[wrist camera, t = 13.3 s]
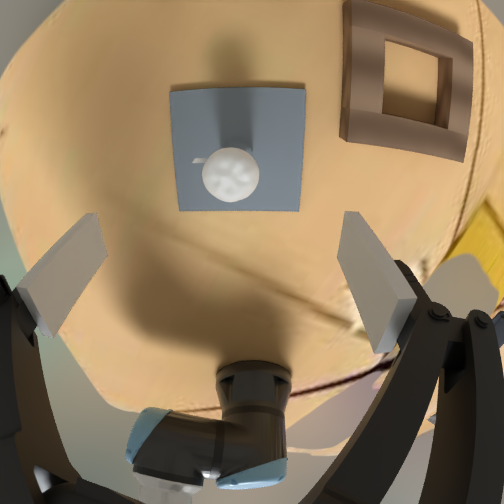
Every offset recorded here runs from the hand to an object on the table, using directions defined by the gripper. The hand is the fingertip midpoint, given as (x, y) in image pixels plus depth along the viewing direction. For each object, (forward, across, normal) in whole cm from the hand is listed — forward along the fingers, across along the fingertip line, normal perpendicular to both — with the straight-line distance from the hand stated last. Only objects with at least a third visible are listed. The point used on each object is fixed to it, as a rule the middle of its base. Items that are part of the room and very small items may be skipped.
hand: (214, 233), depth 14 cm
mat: (+18, 0, -1) cm, 18 cm away
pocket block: (+18, -19, -11) cm, 28 cm away
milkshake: (+18, 0, -1) cm, 18 cm away
